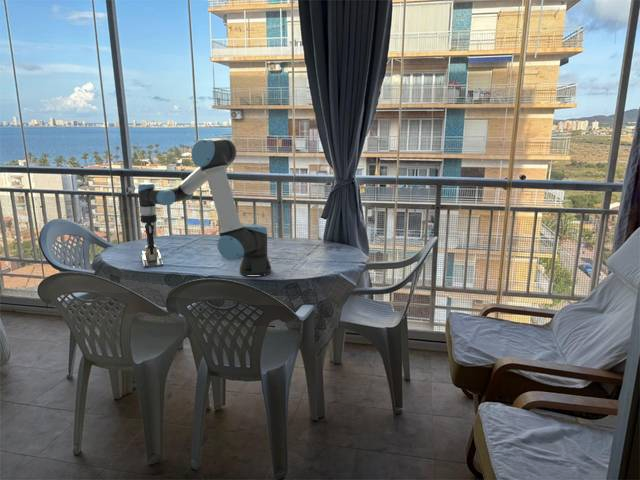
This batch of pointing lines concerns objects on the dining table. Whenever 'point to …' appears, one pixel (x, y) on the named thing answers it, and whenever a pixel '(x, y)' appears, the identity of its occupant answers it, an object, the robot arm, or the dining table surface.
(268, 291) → the dining table surface
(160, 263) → the white tray
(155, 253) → the module
